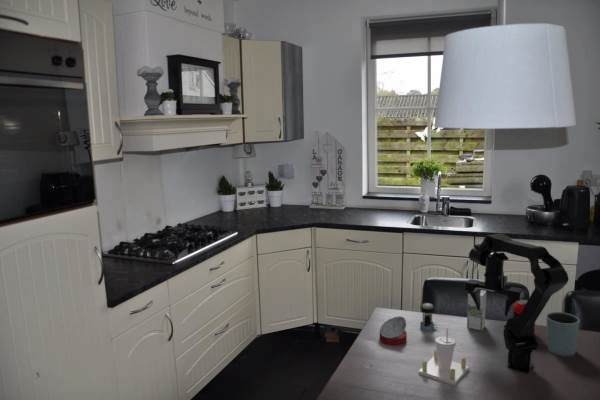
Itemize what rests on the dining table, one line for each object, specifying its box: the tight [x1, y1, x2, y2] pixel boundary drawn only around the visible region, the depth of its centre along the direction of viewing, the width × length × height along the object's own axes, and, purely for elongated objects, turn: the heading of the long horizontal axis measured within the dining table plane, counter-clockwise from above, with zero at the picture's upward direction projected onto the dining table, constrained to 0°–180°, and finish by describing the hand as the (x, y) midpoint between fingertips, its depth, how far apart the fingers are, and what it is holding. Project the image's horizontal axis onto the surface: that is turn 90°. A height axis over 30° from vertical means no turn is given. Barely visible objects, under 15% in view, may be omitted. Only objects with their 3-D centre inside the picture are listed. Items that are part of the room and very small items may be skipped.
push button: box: [419, 302, 438, 331], centre depth 192 cm, size 7×5×10 cm
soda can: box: [512, 299, 536, 336], centre depth 187 cm, size 8×8×12 cm
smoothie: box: [434, 327, 457, 371], centre depth 161 cm, size 6×6×14 cm
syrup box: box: [466, 290, 487, 332], centre depth 193 cm, size 6×6×14 cm
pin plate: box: [418, 349, 470, 386], centre depth 162 cm, size 12×12×4 cm
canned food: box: [379, 316, 408, 347], centre depth 185 cm, size 11×10×10 cm
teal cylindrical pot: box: [545, 311, 580, 357], centre depth 173 cm, size 10×10×12 cm
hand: (492, 312), depth 175 cm, fingers open, 9 cm apart
